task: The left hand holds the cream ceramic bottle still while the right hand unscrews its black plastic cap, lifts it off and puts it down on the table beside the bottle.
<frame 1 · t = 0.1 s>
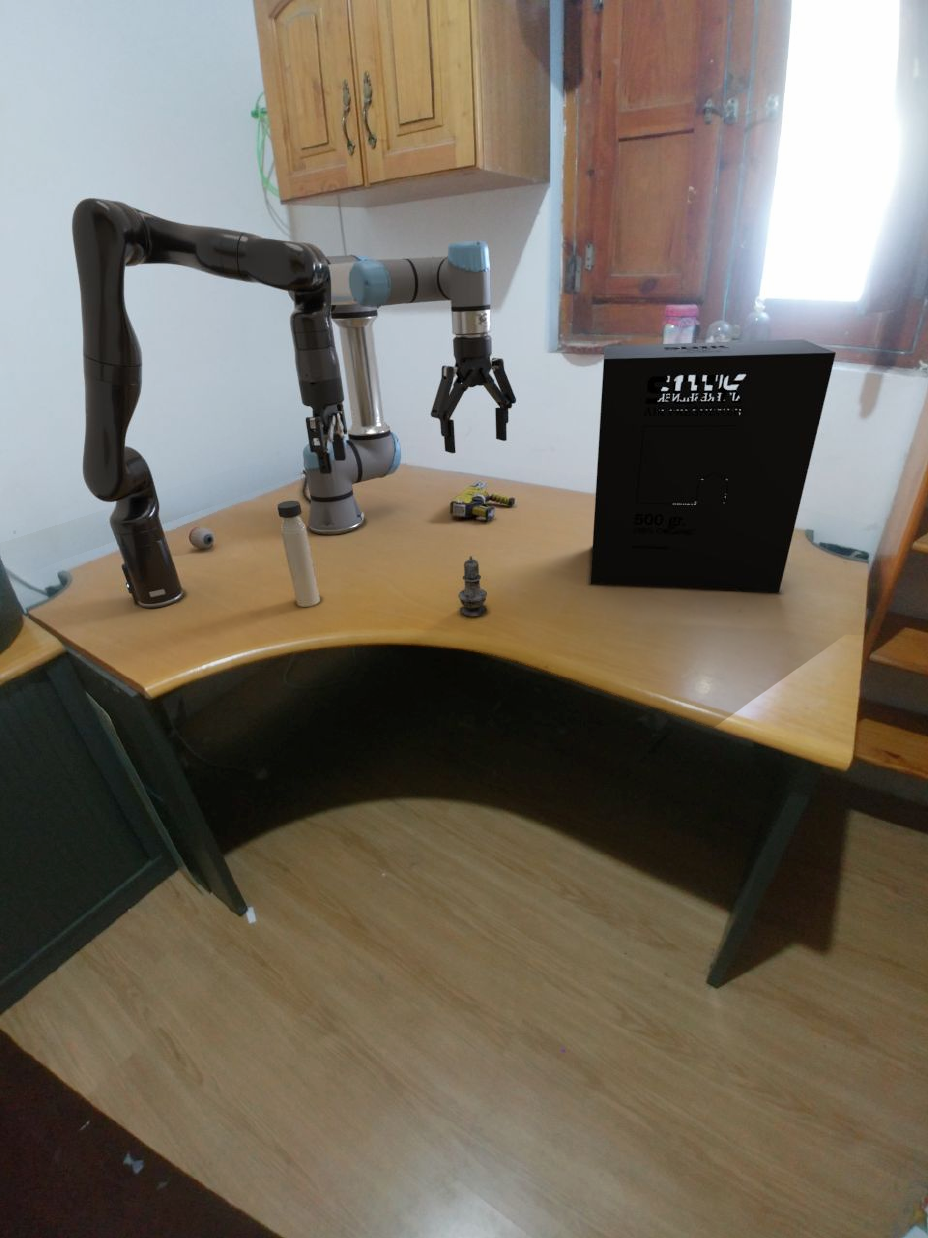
left hand: (333, 466, 114), 29 cm above the table, tool pointing down, fingers open, 8 cm apart
right hand: (476, 445, 127), 28 cm above the table, tool pointing down, fingers open, 13 cm apart
cardboard box: (677, 568, 135), on the table
cap: (288, 505, 119), point 22 cm above the table, screwed on, not yet turned
dark grey tall piece: (473, 610, 123), on the table
eyeball: (205, 548, 159), on the table
toy gun: (487, 508, 175), on the table
bottle: (308, 601, 130), on the table
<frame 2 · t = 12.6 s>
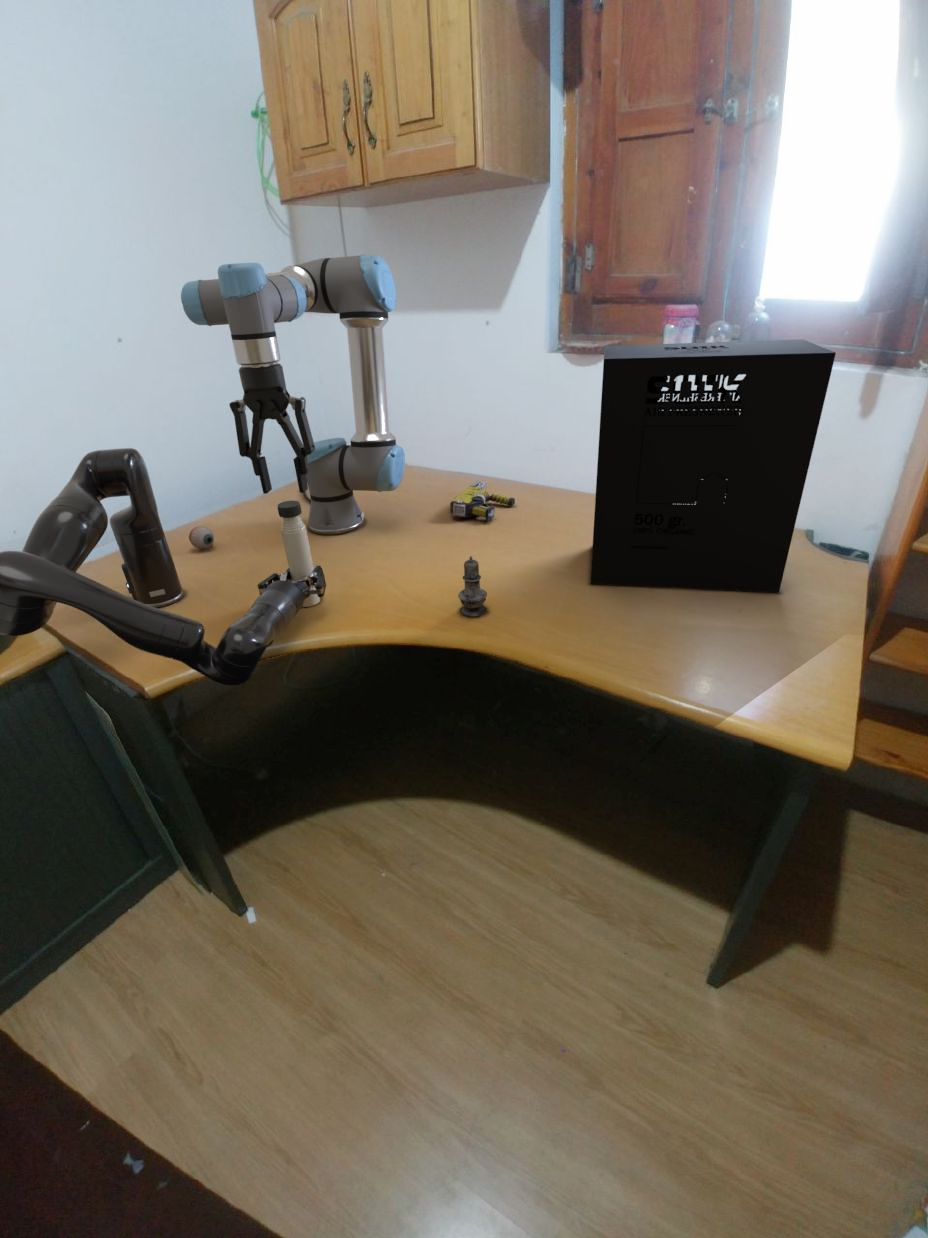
left hand: (307, 569, 129), 6 cm above the table, tool horizontal, fingers closed on bottle, 5 cm apart
right hand: (285, 490, 118), 25 cm above the table, tool pointing down, fingers open, 7 cm apart
bottle: (308, 601, 130), on the table, touching left hand
everything else where it was.
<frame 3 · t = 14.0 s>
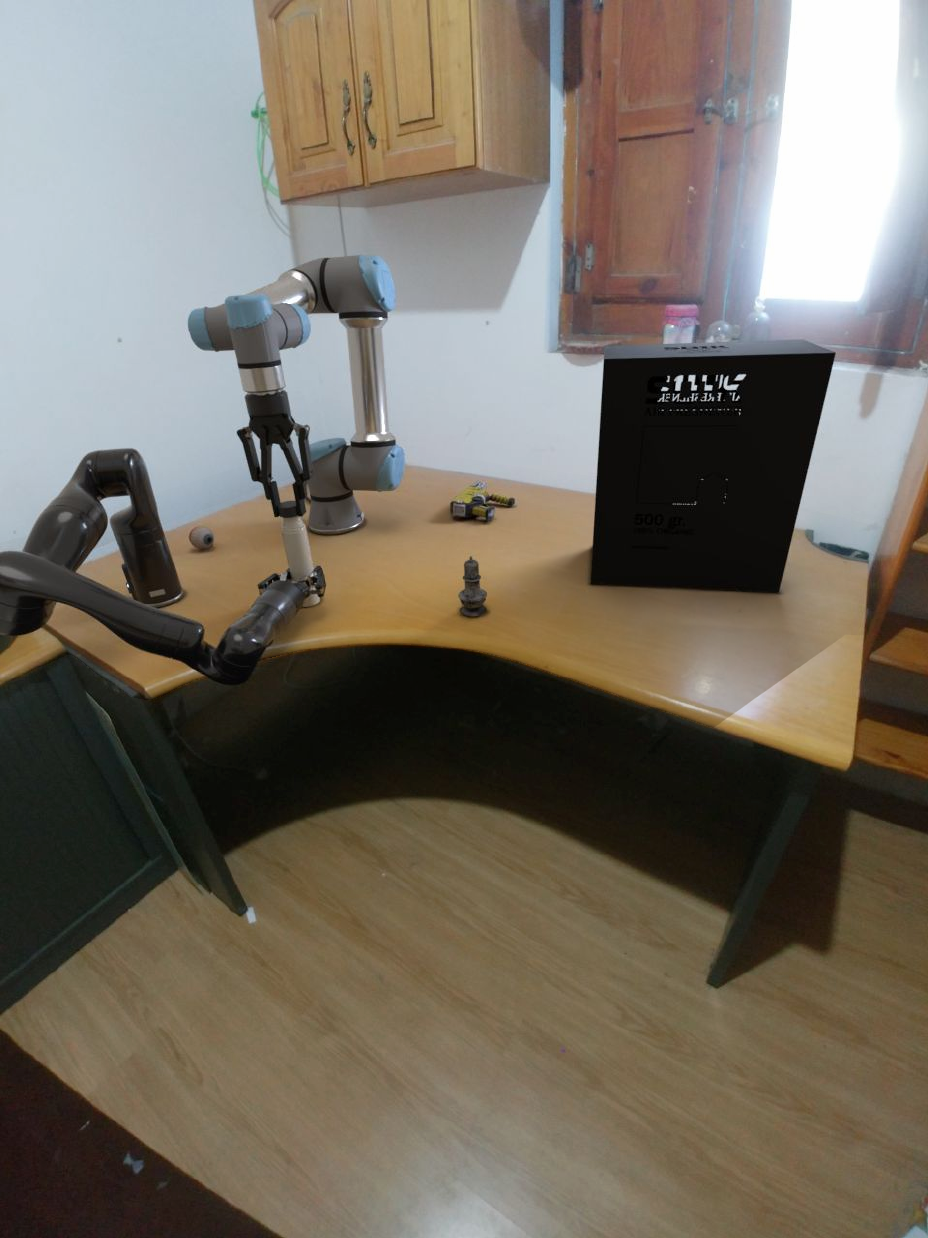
left hand: (307, 569, 129), 6 cm above the table, tool horizontal, fingers closed on bottle, 5 cm apart
right hand: (290, 514, 120), 20 cm above the table, tool pointing down, fingers closed on cap, 4 cm apart
cap: (288, 505, 119), point 22 cm above the table, screwed on, not yet turned, touching right hand
bottle: (308, 601, 130), on the table, touching left hand
everything else where it was.
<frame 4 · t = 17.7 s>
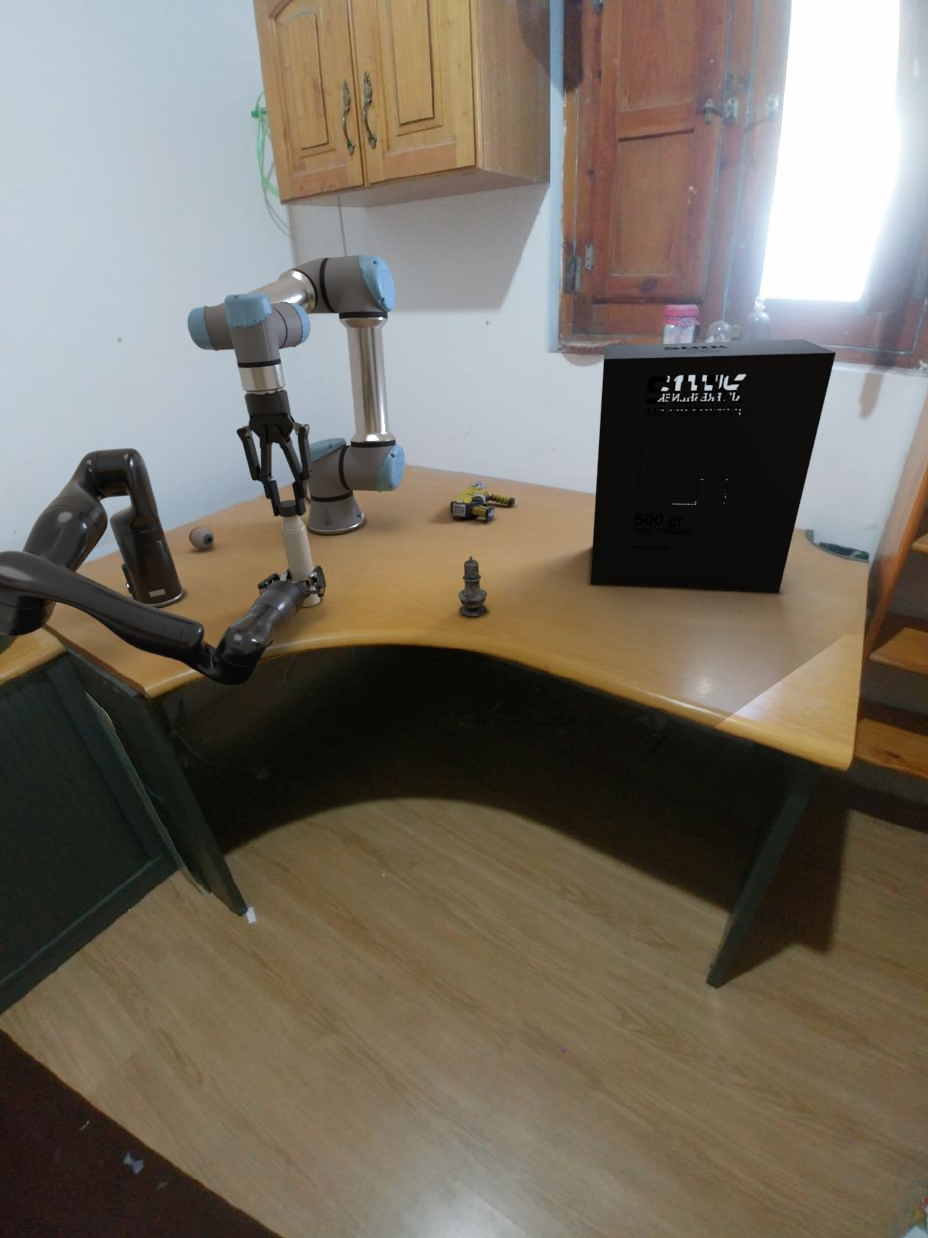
left hand: (307, 569, 129), 6 cm above the table, tool horizontal, fingers closed on bottle, 5 cm apart
right hand: (290, 513, 120), 20 cm above the table, tool pointing down, fingers closed on cap, 4 cm apart
cap: (288, 504, 119), point 22 cm above the table, turned 139° so far, risen 0.2 cm, still on its thread, touching right hand
bottle: (308, 601, 130), on the table, touching left hand
everything else where it was.
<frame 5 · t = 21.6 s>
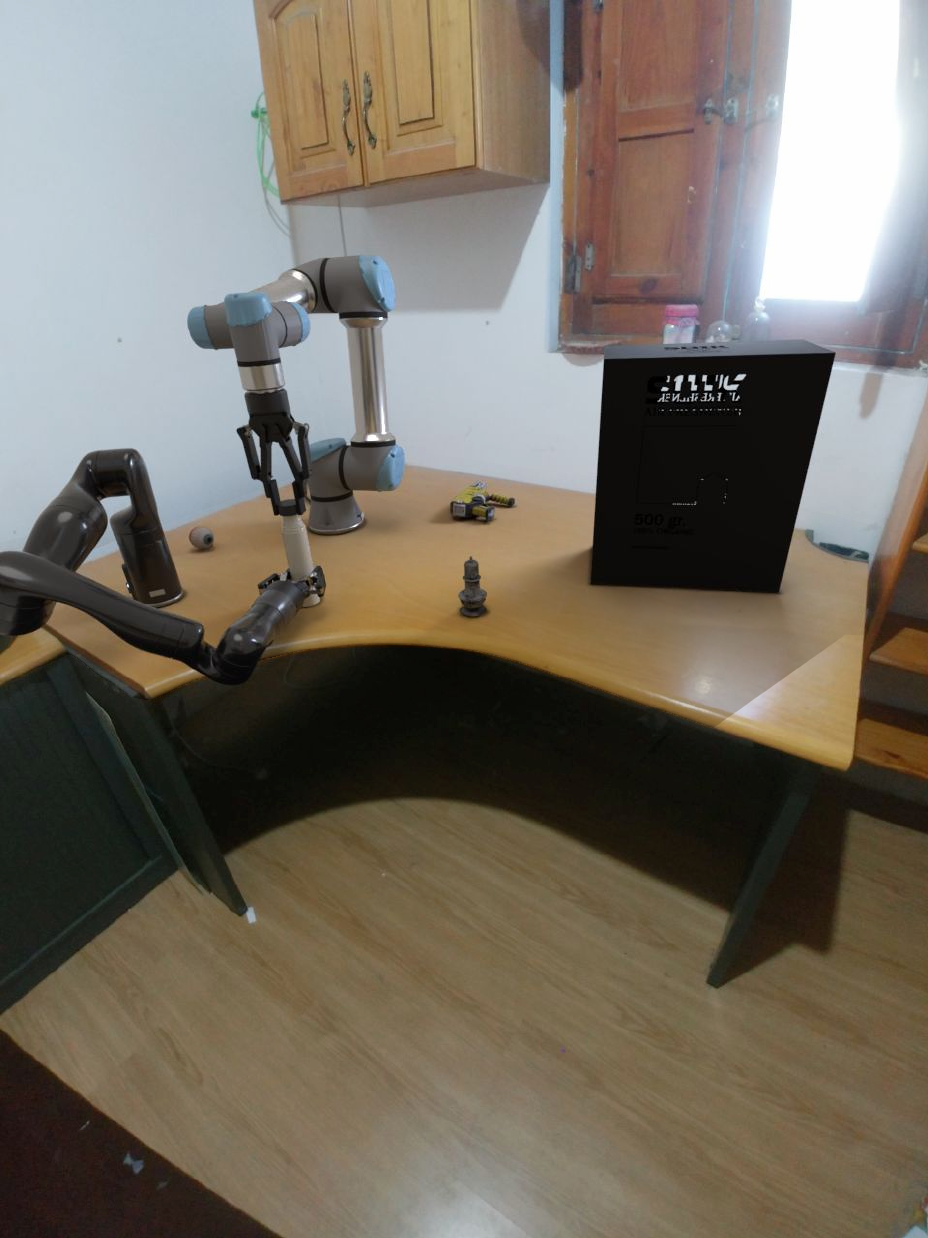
left hand: (307, 569, 129), 6 cm above the table, tool horizontal, fingers closed on bottle, 5 cm apart
right hand: (290, 512, 120), 20 cm above the table, tool pointing down, fingers closed on cap, 4 cm apart
cap: (288, 504, 119), point 22 cm above the table, turned 278° so far, risen 0.3 cm, still on its thread, touching right hand
bottle: (308, 601, 130), on the table, touching left hand
everything else where it was.
when the right hand's fingers open (1 cm above the table, at t = 28.8 s): cap drops 1 cm, point 2 cm above the table.
when the left hand's fingers open (6 cm above the table, at t = 30.1 s): bottle stays where it is, on the table.
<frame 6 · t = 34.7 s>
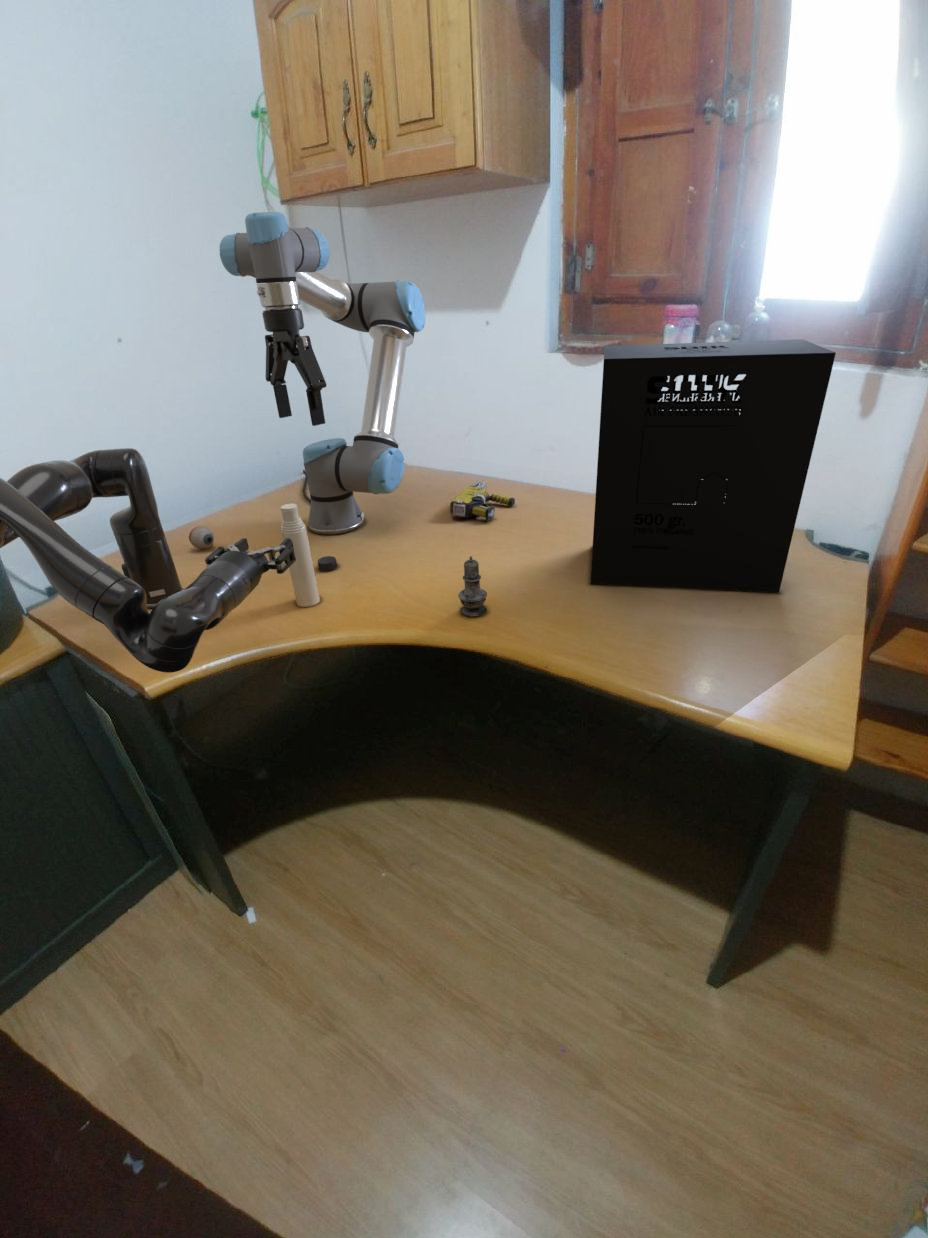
left hand: (267, 542, 111), 19 cm above the table, tool horizontal, fingers open, 8 cm apart
right hand: (301, 420, 128), 34 cm above the table, tool pointing down, fingers open, 13 cm apart
cap: (326, 560, 144), point 2 cm above the table, off its thread
bottle: (308, 601, 130), on the table
everything else where it was.
at the end: cap came off its thread; cap point 1.8 cm above the table; the left hand is holding nothing; the right hand is holding nothing; bottle tilted 0°; bottle moved 0.0 cm from its start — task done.
